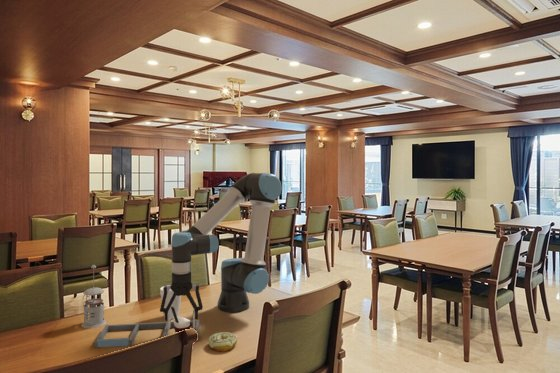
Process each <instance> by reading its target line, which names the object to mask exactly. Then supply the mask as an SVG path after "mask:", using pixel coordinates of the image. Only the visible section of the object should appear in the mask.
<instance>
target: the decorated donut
mask: <svg viewBox="0 0 560 373" xmlns="http://www.w3.org/2000/svg"><path fill="white" fill-rule="evenodd" d="M237 342H238V337H237V335H236V334H234V333H233V332H232V333H231V332H229V331H227V332H226V331H222V332H216V333H214V334H212V335H210V336H209V337H208V344H209V347H210V348H211V349H213V350H214V351H217V352H227V351H231V350H232V349H234V348H235V346H236V345H237Z"/></svg>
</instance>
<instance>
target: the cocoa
mask: <svg viewBox="0 0 560 373" xmlns="http://www.w3.org/2000/svg"><path fill="white" fill-rule="evenodd" d="M171 309H172V312H173V315H174V318H175V319H173V322H174V327H173V328H174V329H173V330H174V332H179V331H182V330H185V329H190V330H191V327H192V326H191V325H192V323H190V321H191V320H190V319H188V318H185V317H183V316H178V318H177V316H176V313H175V310H174V307H171Z"/></svg>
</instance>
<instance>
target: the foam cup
mask: <svg viewBox="0 0 560 373" xmlns="http://www.w3.org/2000/svg"><path fill="white" fill-rule="evenodd" d="M164 286H165V285H164ZM164 286H161V287H160V289H159V290H160V291H159V292H160V300H161V301H162V299H163V295H164V290H163V288H164ZM166 286H171V284H168V285H167V284H166ZM173 293H174V292H173V291H172V290H171V289H169V292H168V293H167V297H166V301H165V305H164V308H166V307H167V305H168V303H169V301H170V299H171V297H172V296H173ZM181 301H182V295H181V296H177V295H176V297H175V299H174V301H173V303H172V305H171V307H174V310H175V313H176V316H177V318H178V317H179V316H180V307H181ZM171 307H170V309H169V311H170V320H175V318H174V315H173V312H172V309H171ZM162 313H163V318H164V319H165V313H164V312H162Z"/></svg>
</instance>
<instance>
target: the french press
mask: <svg viewBox="0 0 560 373" xmlns="http://www.w3.org/2000/svg"><path fill="white" fill-rule="evenodd" d="M90 268H91V269H93V271H92V272H93V274H92V276H93V287H91V288H88V289H85V290H84V291H83V297H82V299H84V297H85V296H86V298H85V301H84V303H82V306H83V322H82V324H81V327H82V328H83V329H94V328H95V329H96V328H101V327H102V326H104V325H105V326H106V325H107V320H105V304H104V303H105V302H103V301H104V299H102V298H98V297H97V298H95V297H94V298H90V297H91V296H98V295H101V294H103V293H104V292H105V289H103V288H101V287H95V269H96V268H97V266H96V265H95V264H92V265H91V267H90ZM88 298H89V299H88Z"/></svg>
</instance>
